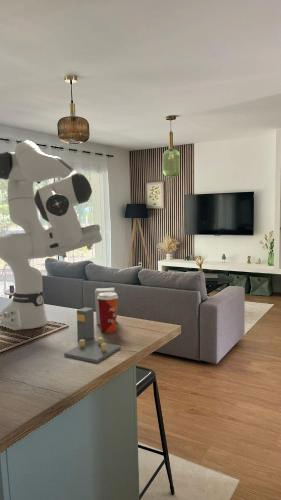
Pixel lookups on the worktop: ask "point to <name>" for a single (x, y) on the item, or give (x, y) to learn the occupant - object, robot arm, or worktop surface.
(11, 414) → the worktop surface
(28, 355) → the worktop surface
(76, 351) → the slate board
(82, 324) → the plug block
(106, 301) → the coffee cup
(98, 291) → the skincare box
